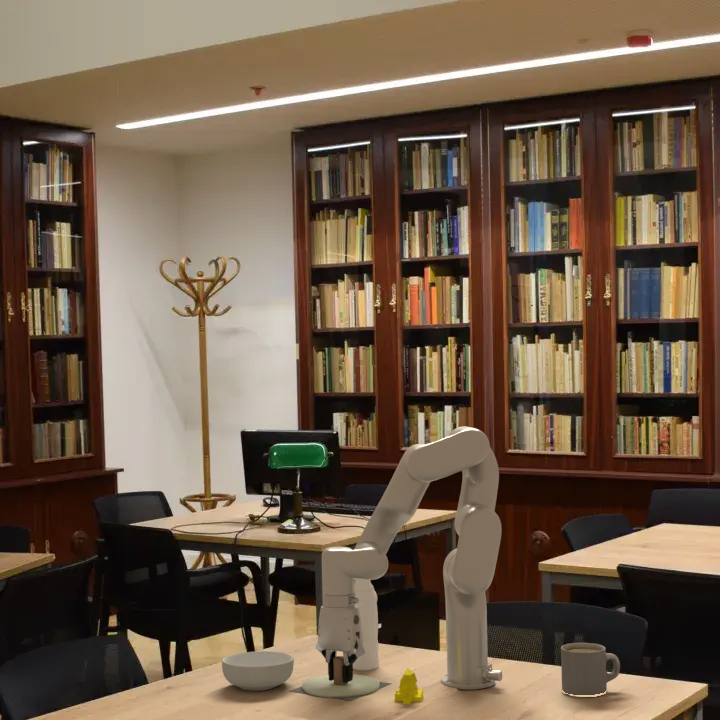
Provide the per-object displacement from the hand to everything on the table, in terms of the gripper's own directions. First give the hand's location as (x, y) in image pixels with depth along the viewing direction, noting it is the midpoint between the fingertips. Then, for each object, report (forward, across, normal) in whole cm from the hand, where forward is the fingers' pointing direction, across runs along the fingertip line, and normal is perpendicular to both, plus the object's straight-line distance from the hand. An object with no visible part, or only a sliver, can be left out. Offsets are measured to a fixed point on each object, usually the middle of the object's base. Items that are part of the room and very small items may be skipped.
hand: (340, 679), depth 273 cm
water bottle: (+3, +6, -19) cm, 20 cm away
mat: (+2, 0, 0) cm, 2 cm away
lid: (+2, 0, 0) cm, 2 cm away
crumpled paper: (+3, -19, +1) cm, 19 cm away
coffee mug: (+3, -51, -26) cm, 57 cm away
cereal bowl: (+3, +18, +8) cm, 20 cm away
